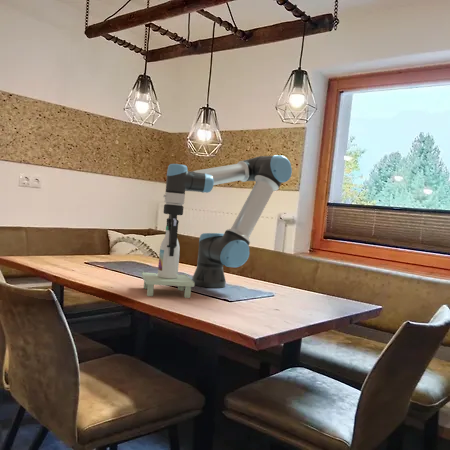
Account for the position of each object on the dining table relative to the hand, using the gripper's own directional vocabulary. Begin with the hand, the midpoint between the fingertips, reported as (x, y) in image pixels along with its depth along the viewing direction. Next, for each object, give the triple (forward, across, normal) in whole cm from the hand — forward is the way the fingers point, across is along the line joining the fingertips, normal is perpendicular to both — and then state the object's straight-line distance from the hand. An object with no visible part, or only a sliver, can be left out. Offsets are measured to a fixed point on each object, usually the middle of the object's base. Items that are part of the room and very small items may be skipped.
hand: (168, 263), depth 183 cm
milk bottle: (+6, 0, 0) cm, 6 cm away
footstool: (+12, 0, 0) cm, 12 cm away
